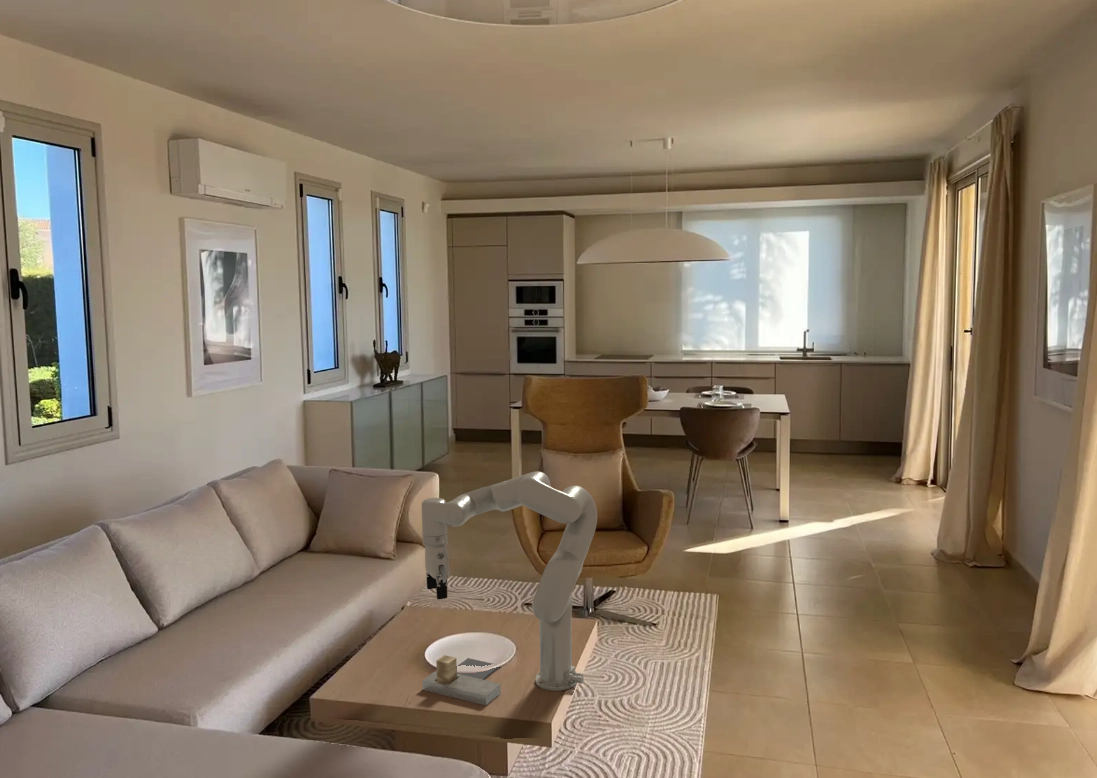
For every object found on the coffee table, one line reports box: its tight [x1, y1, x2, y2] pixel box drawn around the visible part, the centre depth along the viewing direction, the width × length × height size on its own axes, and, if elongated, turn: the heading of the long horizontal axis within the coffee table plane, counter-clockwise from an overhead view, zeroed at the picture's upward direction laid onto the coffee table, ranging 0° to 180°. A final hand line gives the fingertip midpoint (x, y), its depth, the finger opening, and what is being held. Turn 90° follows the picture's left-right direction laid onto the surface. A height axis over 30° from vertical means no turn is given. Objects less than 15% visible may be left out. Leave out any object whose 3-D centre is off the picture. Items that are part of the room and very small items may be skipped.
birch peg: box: [435, 654, 458, 684], centre depth 248 cm, size 4×4×9 cm
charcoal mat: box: [457, 657, 500, 680], centre depth 260 cm, size 12×12×1 cm
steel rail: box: [421, 669, 502, 706], centre depth 246 cm, size 22×8×3 cm, turn 62°
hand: (437, 593), depth 257 cm, fingers open, 9 cm apart
